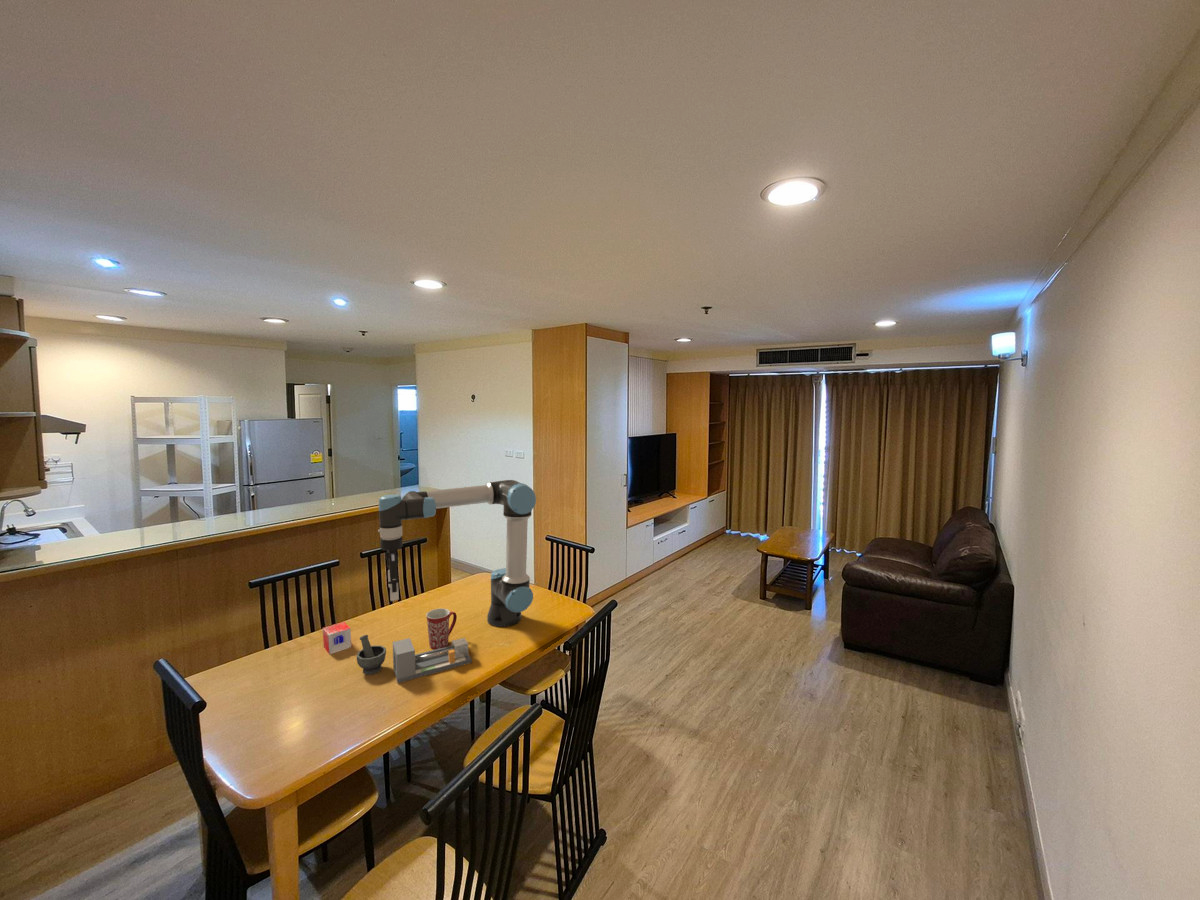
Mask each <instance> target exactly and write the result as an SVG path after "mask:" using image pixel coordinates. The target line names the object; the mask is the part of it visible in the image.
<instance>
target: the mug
mask: <svg viewBox="0 0 1200 900" xmlns="http://www.w3.org/2000/svg"><path fill="white" fill-rule="evenodd" d="M452 615H453V618H452V622H451V624H450V617H451V616H452ZM425 617H426V623H427V633H428V643H429V645H428V646H429V648H430V649H432V650H436V649H440V648H444V647H448V645H449V637H450V635H451V633H452V631H453V629H454V627H455V626H456V623H457V613H456V612H455V611H452V610H451V611H450V610H449V609H447V608H435V609H432V610H430V611H428V612H427V613H426V615H425Z"/></svg>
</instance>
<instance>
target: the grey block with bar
mask: <svg viewBox="0 0 1200 900" xmlns="http://www.w3.org/2000/svg"><path fill="white" fill-rule="evenodd" d="M451 646H452V648H450V649H446V650H442V651H439V652H435V653H431V654H427V655H423V656H419V657H415V662H418V661H422V660H426V659H430V658H433V657H437V656H441V655H445V654H448V651H449V650H452V649H454V651H455V659H458V658H462V657H466V656H468V654H469V643H468V641H467V639H466V637H462V638H458V639H453V640H451Z"/></svg>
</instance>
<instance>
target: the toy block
mask: <svg viewBox="0 0 1200 900" xmlns="http://www.w3.org/2000/svg"><path fill="white" fill-rule="evenodd" d="M351 630H352V629H351V627H350V626H349V625H348V624H347V623H346V622H345V621H342V622H339V623H338V622H337V623H334V624H331V625H328V626H324V627H322V640H323V642H322V643H323V644H322V645H323V648H324V649H325V650H326V652H327V653H328V654H329V655H331V654H335V653H338V652H341V651H344V650H347V649H350V648H352V634H351V632H352V631H351ZM349 647H350V648H349Z"/></svg>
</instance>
